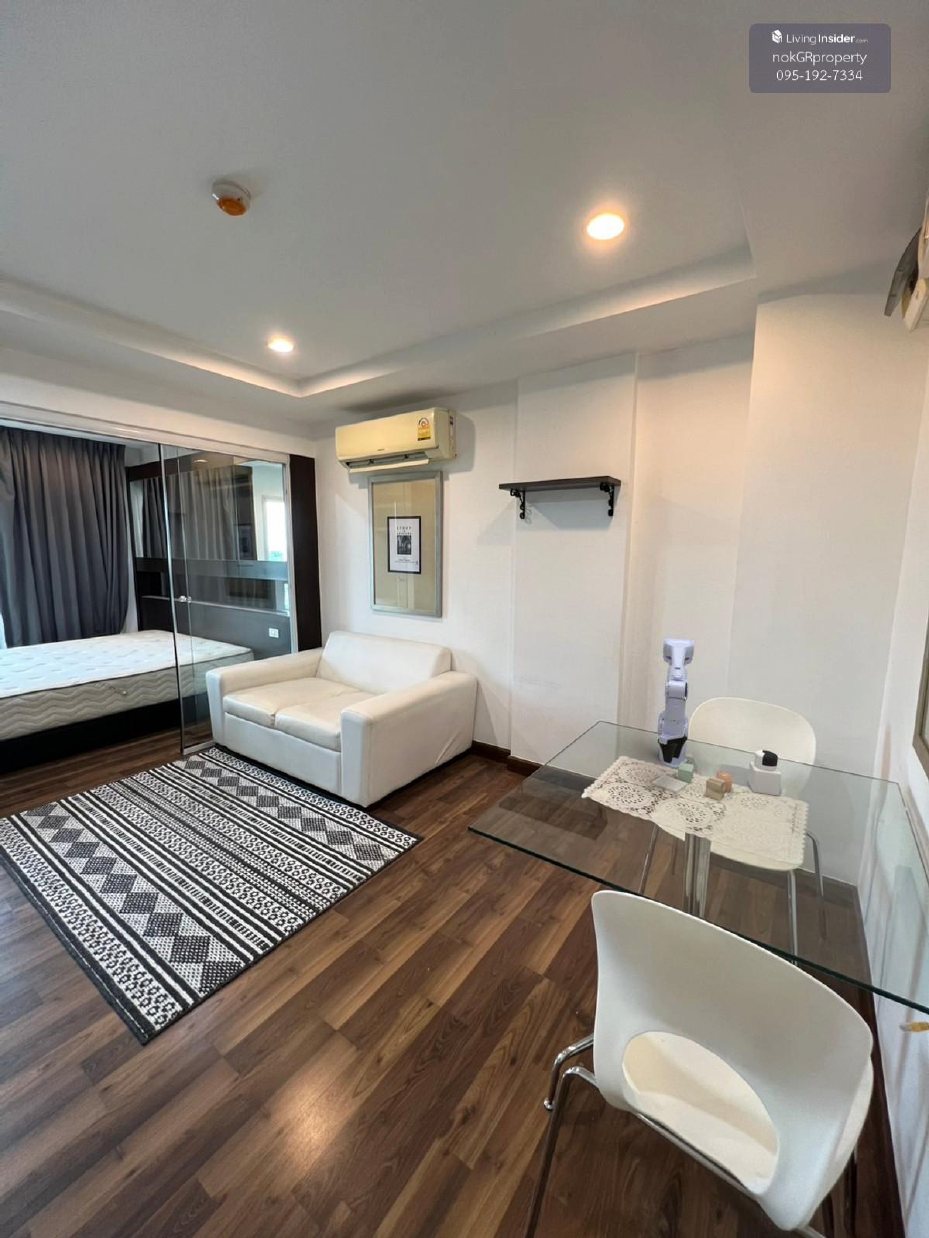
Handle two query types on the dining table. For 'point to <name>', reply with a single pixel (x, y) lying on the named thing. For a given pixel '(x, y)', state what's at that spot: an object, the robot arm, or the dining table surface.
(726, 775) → the terracotta cylinder
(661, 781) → the coaster
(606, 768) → the dining table surface
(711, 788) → the maple block
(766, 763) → the medicine bottle
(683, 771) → the green block
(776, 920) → the dining table surface
